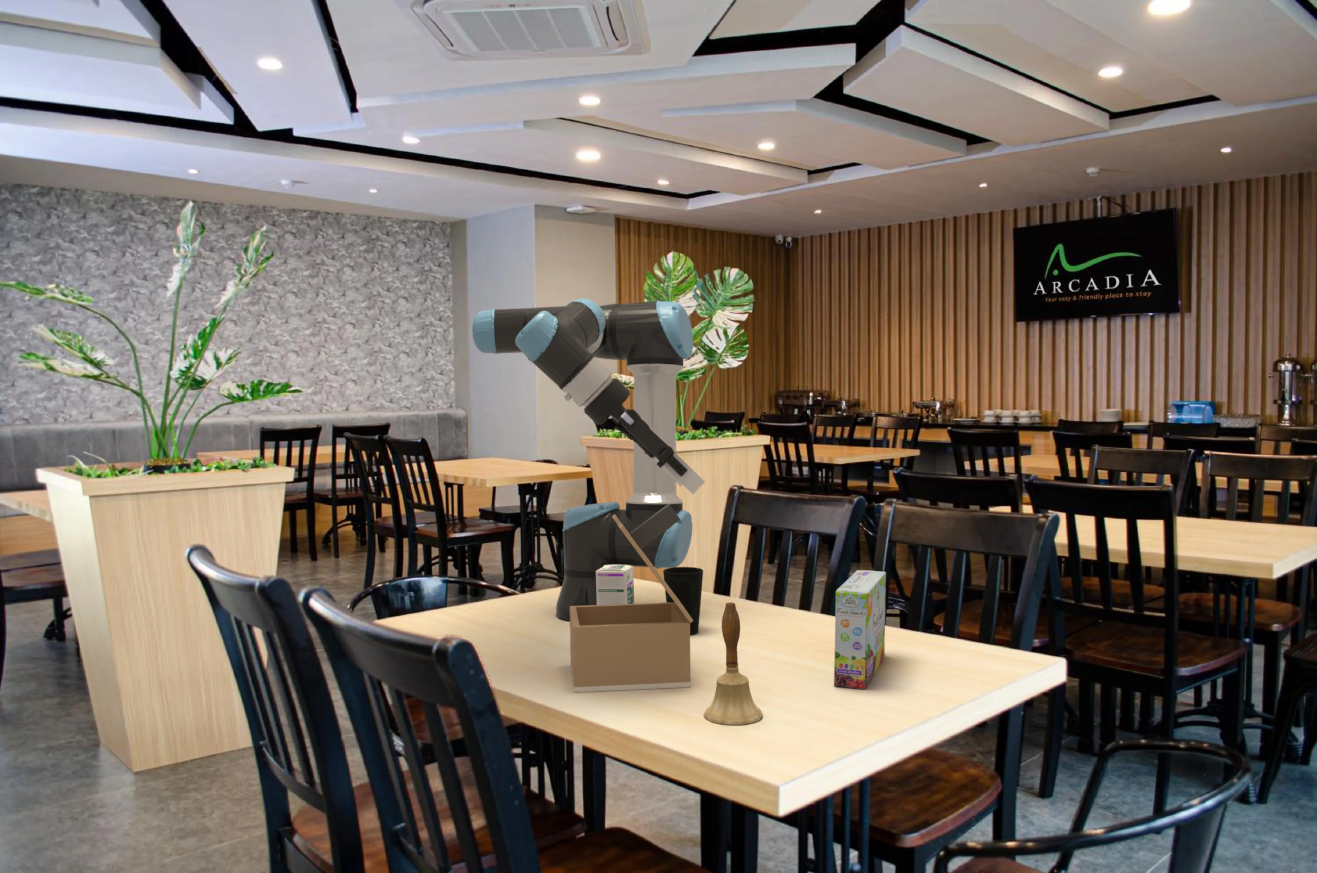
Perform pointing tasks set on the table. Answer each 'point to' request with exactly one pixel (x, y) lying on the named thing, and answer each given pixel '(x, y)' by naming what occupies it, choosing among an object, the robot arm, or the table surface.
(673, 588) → the cup
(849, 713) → the table surface
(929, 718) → the table surface
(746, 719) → the hand bell
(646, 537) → the carton flap
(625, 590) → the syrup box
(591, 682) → the carton
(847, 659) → the snack box
